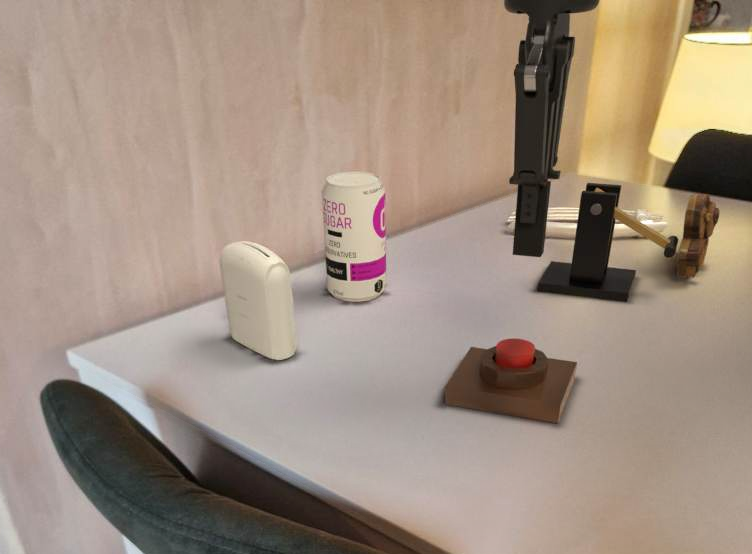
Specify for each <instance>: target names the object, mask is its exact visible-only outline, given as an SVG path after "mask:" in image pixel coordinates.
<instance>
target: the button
mask: <svg viewBox="0 0 752 554" xmlns="http://www.w3.org/2000/svg"><path fill="white" fill-rule="evenodd" d="M495 346H496V355H495V362H496V364H499V365H501V366H503V367H507V368H514V369H518V368H527V367H529V366H531V365H533V361H534V352H535V349H536V347H535V344H534V343H533V342H531V341H530V340H527V339H524V338H523V339H522V338H505V339H502V340H500V341H498V342H497V343H496V345H495Z"/></svg>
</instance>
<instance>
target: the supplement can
mask: <svg viewBox="0 0 752 554" xmlns="http://www.w3.org/2000/svg"><path fill="white" fill-rule="evenodd" d="M321 202H322V217H323V218H322V219H323V232H324V233H323V237H324V253H325V254H324V255H325V256H324V257H325V272H326V287H327V288H326V289H327V291H328V292H329V294H331V295H332V296H333V297H334V298H335V299H337V300H340V301H345V302H349V303H350V302H352V303H353V302H358V303H359V302H367V301H370V300H374V299H377V298H378V297H380V296H381V294H382V293H383V292H385V290H386V288H387V220H386V218H387V217H386V216H387V215H386V213H387V212H386V211H387V210H386V209H387V208H386V204H387V203H386V202H387V201H386V189H385V187H384V185H383V184H382V181H381V177H380V175H378V174H376V173H372V172H366V171H346V172H345V171H344V172H339V173H334V174H331V175H329V176H327V177H326V178H325V183H324V186H323V188H322V190H321Z"/></svg>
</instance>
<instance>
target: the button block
mask: <svg viewBox="0 0 752 554" xmlns="http://www.w3.org/2000/svg"><path fill="white" fill-rule="evenodd" d="M495 355H496V345H495V346H491V347H489V348H483V347H475V346H470V348H469V349H468V351H467V352H466V354H465V355H464V356H463V359H462V360H461V361H460V363H459V365H458V366H457V368H456V369H455V371H454V372H453V374H452V375H451V377H450V378H449V380H448V382H447V383H446V385H445V388H444V405H447V406H452V407H459V408H465V409H471V410H476V411H483V412H486V413H487V412H489V413H493V414H500V415H505V416H510V417H511V416H512V417H518V418H523V419H528V420H529V419H530V420H535V421H541V422H547V423H552V424H559V421H560V419H561V416H562V414H563V411H564V408H565V406H566V403H567V400H568V398H569V396H570V392H571V391H572V388H573V385H574V382H575V379H576V374H577V367H578V361H572V360H567V359H566V360H565V359H560V358H559V359H558V358H551V357H548V356H547V355H546V353H544V352H543V351H542V350H540V349H537V348H535V352H534V361H533V365H531V366H529V367H527V368H518V369H514V368H507V367H503V366H501V365H499V364H496V362H495Z"/></svg>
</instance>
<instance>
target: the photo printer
mask: <svg viewBox="0 0 752 554" xmlns="http://www.w3.org/2000/svg"><path fill="white" fill-rule="evenodd" d="M219 267H220V273H221V281H222V287H223V295H224V301H225V307H226V314H227V320H228V326H229V332H230V336H231V338H232V339H233V340H234V341H236V342H237V343H239V344H241V345H243V346H244V347H246V348H248V349H250V350H252V351H254V352H256V353H258V354H259V355H261V356H264V357H266V358H268V359H270V360H275V361H282V360H287V359H289V358H291V357H293V356H294V355H295V352H296V351H298V341H297V330H296V320H295V312H294V311H295V310H294V309H295V308H294V299H293V289H292V280H291V272H290V269H289V266H288V265H287V264H286V262H285V261H284V260H283V259H282V258H281V257H280V256H278V255H277V254H276V253H275V252H273V251H272V250H271V249H269V248H267V247H266V246H263V245H261V244H259V243H256V242H252V241H248V240H241V241H236V242H233V243H228V244H227V245H225V246H224V247H223V249H222V251H221V252H220V256H219Z"/></svg>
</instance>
